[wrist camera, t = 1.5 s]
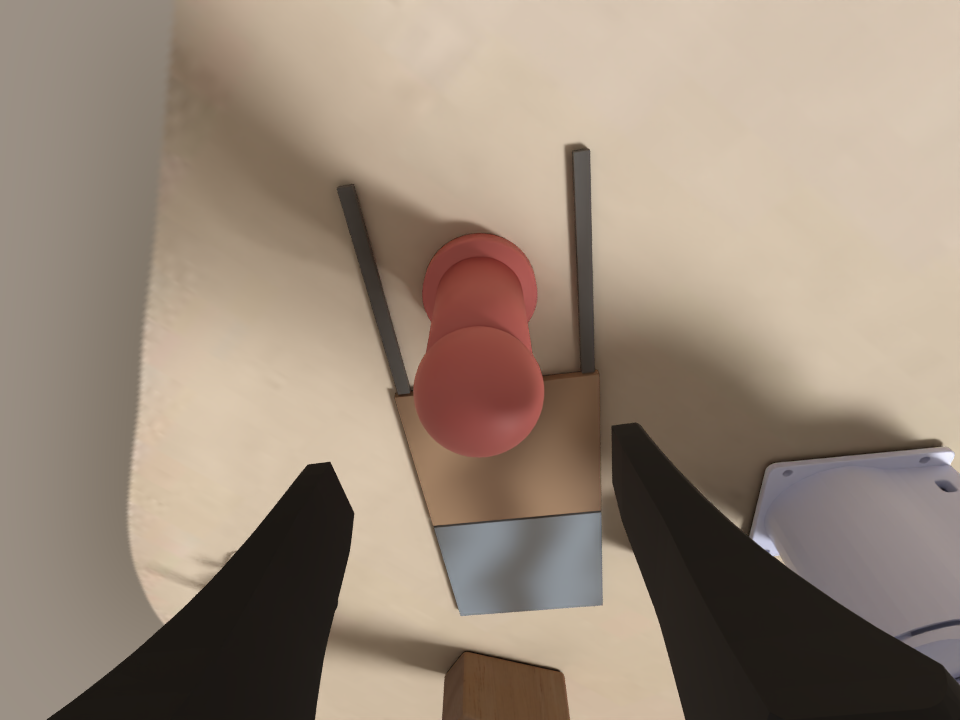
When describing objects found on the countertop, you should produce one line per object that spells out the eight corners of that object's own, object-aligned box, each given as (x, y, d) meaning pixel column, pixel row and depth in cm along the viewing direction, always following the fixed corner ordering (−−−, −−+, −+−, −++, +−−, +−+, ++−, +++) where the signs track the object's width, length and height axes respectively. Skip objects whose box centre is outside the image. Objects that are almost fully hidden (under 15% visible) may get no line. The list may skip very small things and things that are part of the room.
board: (594, 147, 18) (596, 149, 18) (601, 599, 35) (602, 605, 34) (333, 187, 19) (331, 189, 19) (460, 610, 35) (460, 616, 35)
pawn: (529, 225, 20) (561, 351, 12) (539, 327, 23) (570, 486, 15) (414, 241, 20) (370, 374, 12) (436, 340, 23) (412, 502, 15)
